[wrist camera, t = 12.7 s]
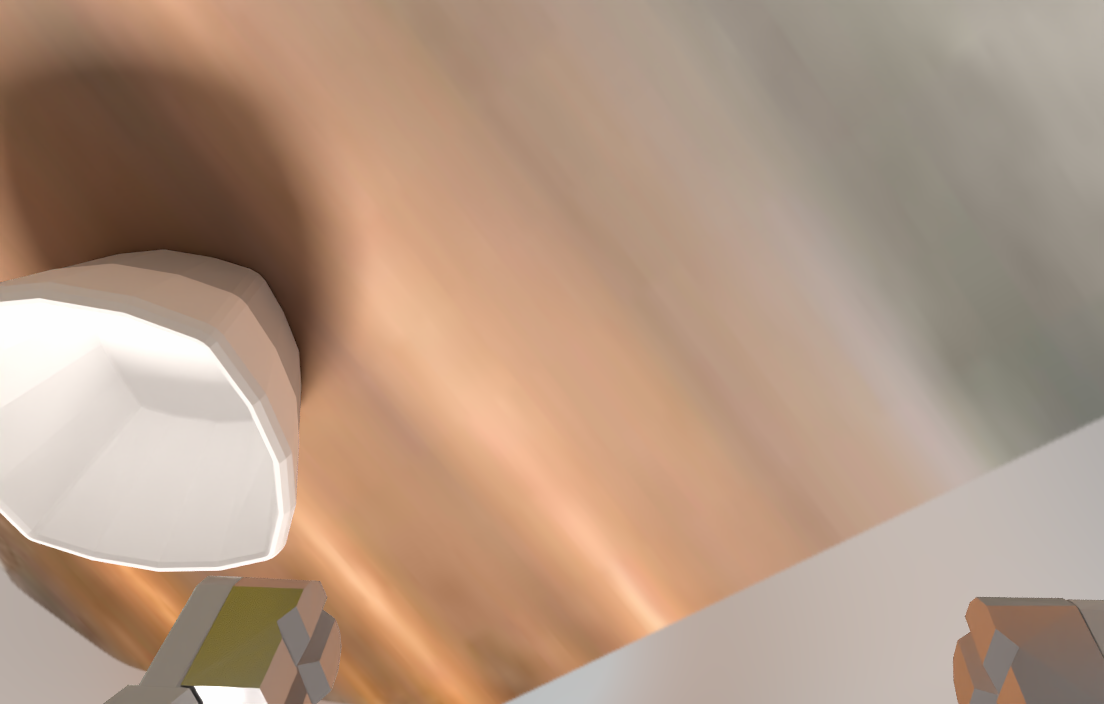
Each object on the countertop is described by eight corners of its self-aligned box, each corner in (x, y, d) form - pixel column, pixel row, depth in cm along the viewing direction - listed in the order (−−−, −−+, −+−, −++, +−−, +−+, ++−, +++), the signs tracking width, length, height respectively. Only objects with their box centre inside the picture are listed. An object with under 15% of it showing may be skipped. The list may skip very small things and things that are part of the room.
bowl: (320, 204, 40) (240, 301, 33) (370, 467, 50) (319, 588, 43) (-11, 192, 42) (-160, 283, 34) (102, 449, 52) (7, 563, 44)
